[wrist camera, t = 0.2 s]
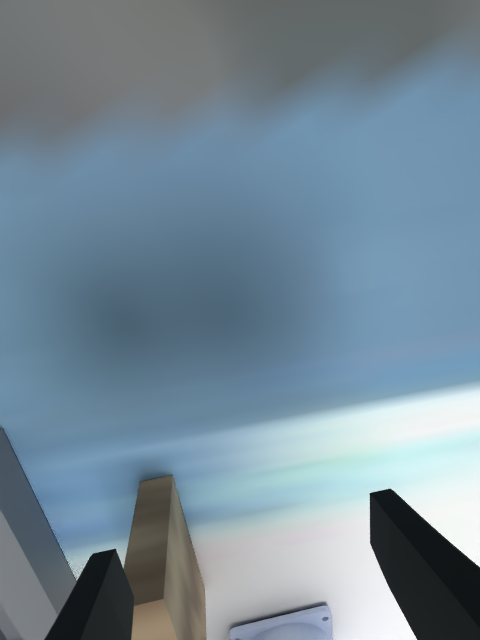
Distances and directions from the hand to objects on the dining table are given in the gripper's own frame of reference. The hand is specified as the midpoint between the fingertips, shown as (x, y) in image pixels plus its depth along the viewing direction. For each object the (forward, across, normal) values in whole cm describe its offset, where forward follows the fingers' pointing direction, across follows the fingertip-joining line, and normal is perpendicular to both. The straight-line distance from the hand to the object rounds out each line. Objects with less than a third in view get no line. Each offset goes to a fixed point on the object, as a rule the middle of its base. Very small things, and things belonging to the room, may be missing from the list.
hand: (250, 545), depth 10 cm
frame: (+10, +5, +12) cm, 16 cm away
